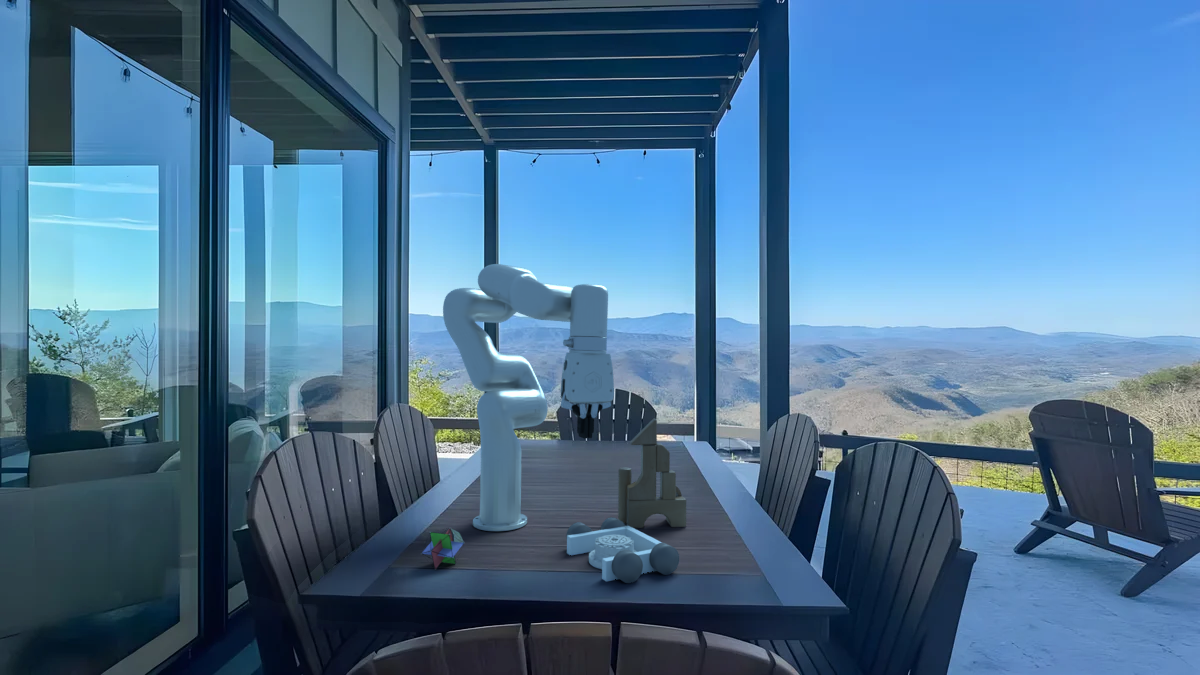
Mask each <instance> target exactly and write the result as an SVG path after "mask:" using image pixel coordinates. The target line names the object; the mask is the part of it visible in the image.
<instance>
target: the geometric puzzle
mask: <svg viewBox="0 0 1200 675" xmlns="http://www.w3.org/2000/svg"><path fill="white" fill-rule="evenodd" d="M437 531H439V529H438V530H437V529H436V532H435V531H429V532H428V533H429V535H430V536H429V538H428V537H427V538H426V540H428V539H429V544H428V545H426V543H427V542H425V544H424V545H426V547H424V549H423V550H422V551H421V553H420V555H422V556H425V557H426V558H425V559H426V561H428V559H427V558H429V559H431V560H432V561H433V562H432V563H433V565H431V566H432V567H434V570H439V569H441V566H443V565H445V564H449V565H457V561H458V559H459V558H457V560H456V558H455V557H456V555H457V553H458V551H459V550H461V549H462V548H461V547H463V546H464V544H465V541H464V540H463V537H462V535H461V533H460V532H459V531H457V530H455V529H453V528H452V527H449V528H445V531H444V532H446V533H444V532H440V533H439V532H437ZM460 554H461V553H459V554H458V556H460ZM429 555H430V556H431V557H430V556H429ZM441 563H443V564H441ZM440 564H441V565H440ZM439 565H440V566H439ZM446 567H448V566H447V565H446V566H445V568H446Z"/></svg>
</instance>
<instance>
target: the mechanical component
mask: <svg viewBox="0 0 1200 675" xmlns="http://www.w3.org/2000/svg"><path fill="white" fill-rule="evenodd" d="M621 550H630V551H631V552H633V553H634V552H637V551H635V550H634V540H631V537H629V538H628V537H626V536H624V535H615V534H613V535H604V536H602V537H598V538H596V540H595V550H593V551H591V552H588V563H589V564H590V566H592V567H594V568H596V569H599V570H602V559H603V558H608V557H613V556H615V555H616V554H617V553H618V552H619V551H621Z"/></svg>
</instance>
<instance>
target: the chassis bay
mask: <svg viewBox="0 0 1200 675" xmlns="http://www.w3.org/2000/svg"><path fill="white" fill-rule="evenodd" d="M599 528H600V529H599V530H594V531H593V529H592V528H591V527H590V526H588V525H586V524H585V523H584V522H581V521H579V522H578V521H577V522H575V523H572V524H571V525H570V526H569V528H568V529H567V531H566V533H565V534H566V535H565V537H566V554H567V555H569V556H570V555H571V556H574V555H575V556H576V555H581V554H584V553H585V554H587V553H590V552H591V551H593V550H595V540H596V538H598V537H602V536H604V535H613V534H615V535H624V536H626V537H628V538H629V537H631V540H634V550H635V551H637V552H634V553H633V552H631V551H630V550H621V551H619V552H618V553H617V554H616V555H615V556H613V557H608V558H603V559H602V569H601V579H602V580H603V581H605V582H611V581H616V580H621V581H622V582H623V583H626V584H632V583H635V582H637V580H638V579H639V578H640V577H641V575H643V573H644V574H648V573H647V572H649V573H652V571H653V572H658V573H660V574H661V575H664V576H668V575H671V574H672V573H675V571H676V569H677V568H678V567H679V563H680V553H679V551H678V549H677V548H675V547H673V546H672V545H670V544H668V543H666V542H661V541H660V540H658V539H656V538H654V537H652V536H650V535H648V534H646V533H644V532H642V531H640V530H638V529H637V528H632V527H630V526H627V525H626V523H623V522H622V521H620V520H618V518H616V517H607V518H606V519H605V520H604V521H603V522H602V523H601V526H600V527H599ZM615 579H616V580H615ZM631 582H632V583H631Z"/></svg>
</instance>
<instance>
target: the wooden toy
mask: <svg viewBox="0 0 1200 675" xmlns="http://www.w3.org/2000/svg"><path fill="white" fill-rule="evenodd" d="M657 434H658V420H657V419H656V418H652V420H650V421H649V422H648V424H646V425H645V426H644V428H642V429H641V430H640V431H639V432H638V433H637V434H636V435H635V436H634V437H633V438H632V439H631V440H630V441H629V444H630V445H631V446H640V474H639V476H638V478H637V480H635V481H632V474H633V473H632V472H633V471H632V470H633V469H632V468H631V467H627V466H624V467H621V466H620V467H619V468H618V478H617V480H618V485H617V486H618V488H617V492H618V493H617V494H618V497H617V500H618V502H617V503H618V504H617V511H618V512H617V514H618V515H617V516H618V517H617V519H618V520H620V521H622V522H623V523H624V524H625V525H626V526H630V527H632V528H634V529H643V528H644V527H645V523H646V521H647V520H648V519H649V517H651V516H653V515H656V514H657V515H661V516H662V515H663V516H664V517H665V520H666V522H667V523H668V525H669V526H670V527H671V528H686V527H687V499H686V498H685V497H684V496H683V494H682V492H681V490H680V488H679V487H678V486H677V482H676V481H677V473H676V471H674V469H670V467H671V466H670V465H671V464H670V462H671V459H670V458H671V455H670V454H671V453H670V451H669V450H668V449H667V448H666V446H665V445H663V443H661V442H658V441H657V440H658V435H657ZM657 473H659V476H660V477H659V496H657Z"/></svg>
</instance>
